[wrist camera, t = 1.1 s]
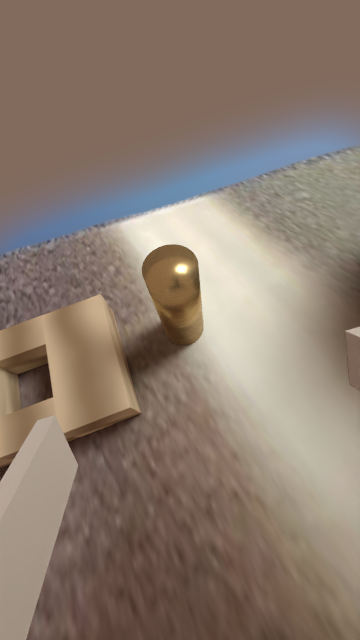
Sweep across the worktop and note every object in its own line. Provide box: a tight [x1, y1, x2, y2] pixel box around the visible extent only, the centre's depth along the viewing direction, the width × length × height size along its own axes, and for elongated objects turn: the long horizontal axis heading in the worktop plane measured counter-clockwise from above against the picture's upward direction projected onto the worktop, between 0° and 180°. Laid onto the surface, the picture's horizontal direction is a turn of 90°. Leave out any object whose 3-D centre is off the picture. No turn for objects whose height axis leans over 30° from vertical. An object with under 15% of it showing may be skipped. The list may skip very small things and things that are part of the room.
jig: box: [0, 294, 141, 468], centre depth 27 cm, size 18×12×5 cm, turn 110°
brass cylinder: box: [142, 245, 203, 345], centre depth 25 cm, size 4×4×11 cm
